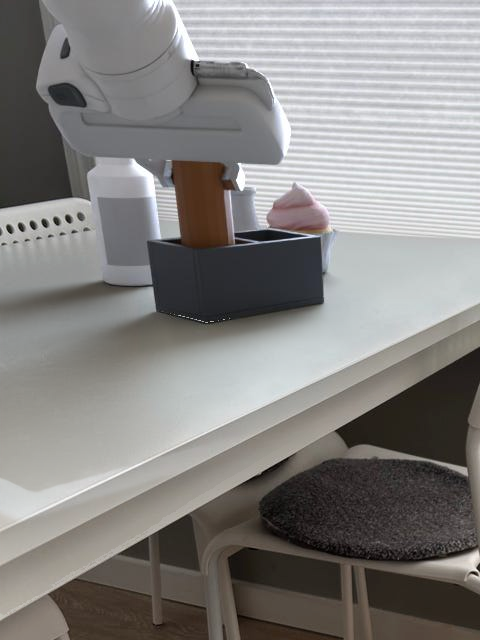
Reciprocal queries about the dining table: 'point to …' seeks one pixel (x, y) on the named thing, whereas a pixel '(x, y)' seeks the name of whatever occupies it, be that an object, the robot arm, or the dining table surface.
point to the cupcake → (303, 218)
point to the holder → (237, 275)
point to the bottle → (203, 204)
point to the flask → (244, 209)
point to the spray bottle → (123, 219)
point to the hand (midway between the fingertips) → (204, 183)
